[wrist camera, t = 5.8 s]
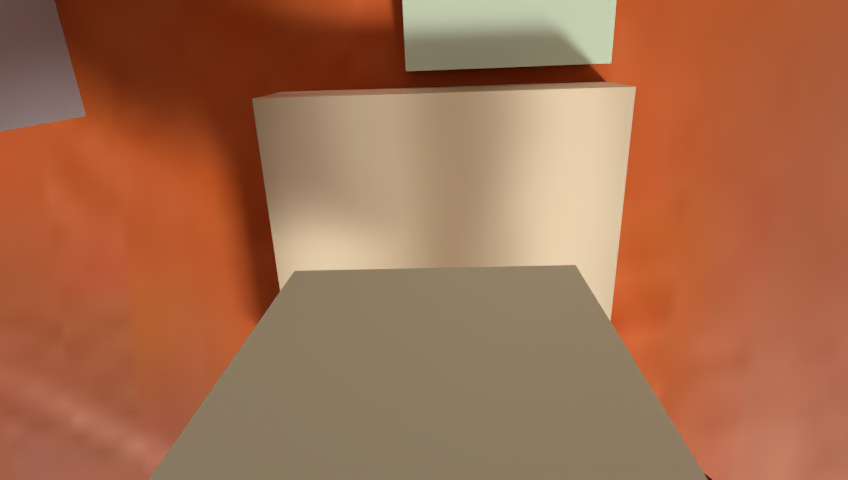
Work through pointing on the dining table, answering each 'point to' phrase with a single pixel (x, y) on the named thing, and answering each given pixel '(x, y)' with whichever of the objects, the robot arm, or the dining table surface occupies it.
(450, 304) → the green cube
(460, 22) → the swatch
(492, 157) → the base block
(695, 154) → the dining table surface
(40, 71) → the slate cube
